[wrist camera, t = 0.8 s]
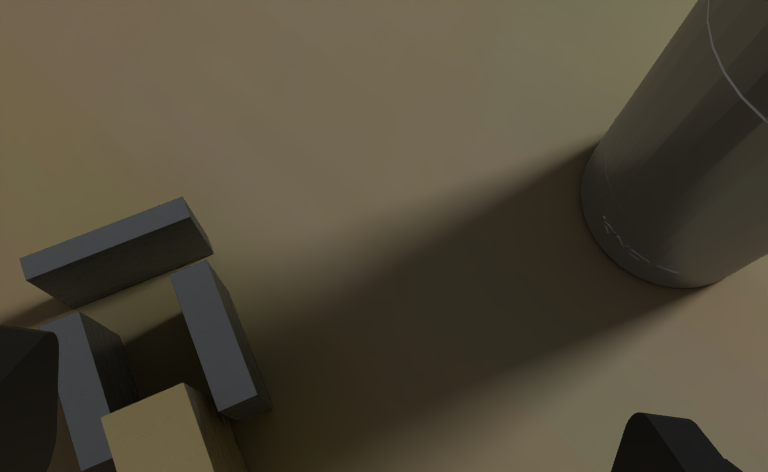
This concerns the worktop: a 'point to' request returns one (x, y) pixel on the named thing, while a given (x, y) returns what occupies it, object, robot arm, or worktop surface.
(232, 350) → the guide
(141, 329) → the worktop surface
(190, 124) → the worktop surface
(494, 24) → the worktop surface
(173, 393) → the tan flat block
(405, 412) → the worktop surface
